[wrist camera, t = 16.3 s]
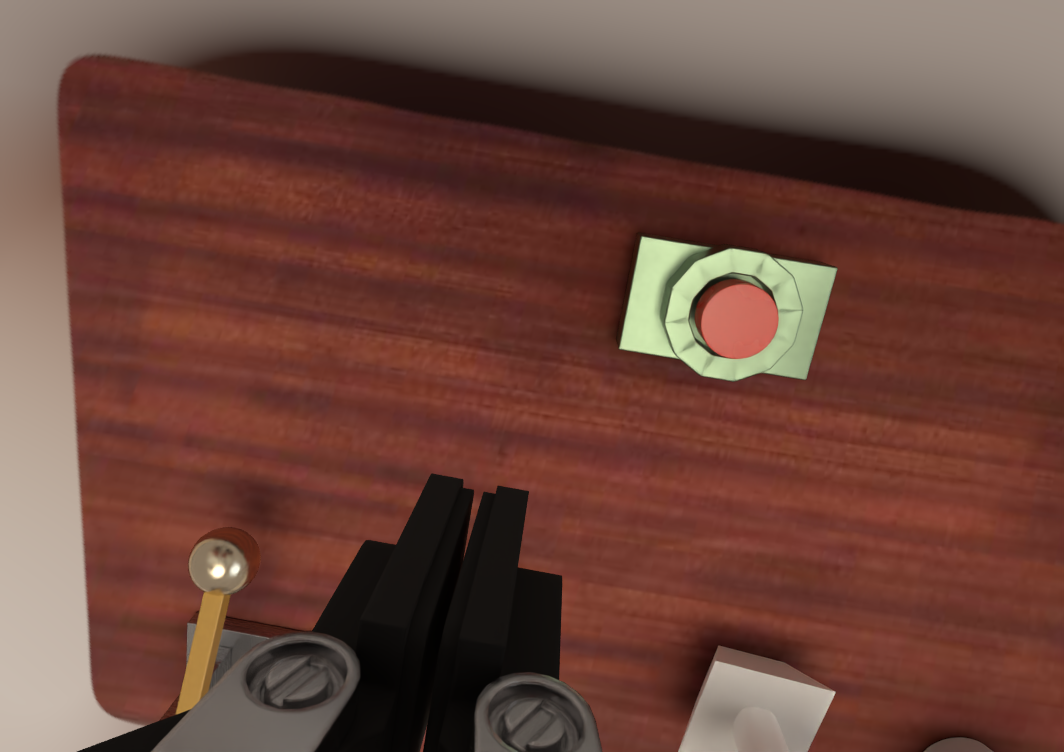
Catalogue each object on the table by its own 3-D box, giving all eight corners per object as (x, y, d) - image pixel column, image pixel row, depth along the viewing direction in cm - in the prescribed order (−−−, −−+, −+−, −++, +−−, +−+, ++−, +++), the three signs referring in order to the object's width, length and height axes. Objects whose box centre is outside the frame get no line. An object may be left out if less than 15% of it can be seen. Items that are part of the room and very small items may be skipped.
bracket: (197, 611, 45) (53, 775, 32) (330, 636, 45) (237, 810, 32) (194, 696, 47) (58, 881, 34) (322, 720, 47) (231, 914, 34)
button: (687, 343, 34) (693, 352, 32) (703, 273, 33) (710, 278, 31) (758, 355, 34) (768, 364, 32) (777, 284, 33) (787, 290, 31)
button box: (614, 344, 38) (619, 363, 34) (637, 227, 36) (645, 233, 32) (792, 373, 38) (816, 395, 34) (824, 257, 36) (853, 267, 32)
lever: (215, 519, 39) (184, 524, 35) (277, 530, 39) (251, 537, 35) (144, 817, 37) (104, 856, 33) (209, 830, 37) (175, 870, 33)
